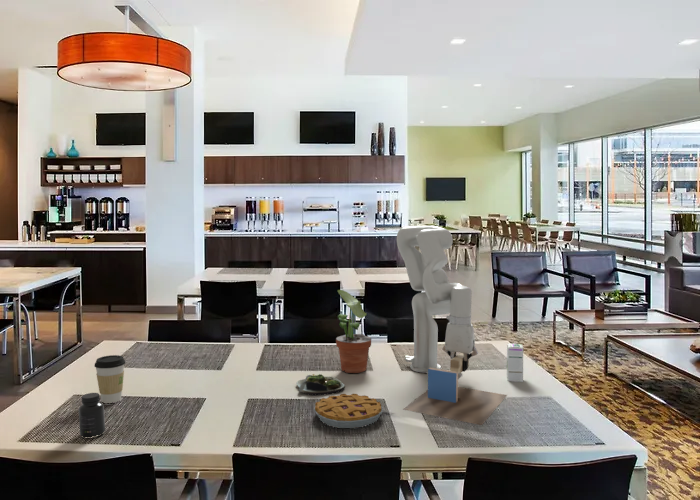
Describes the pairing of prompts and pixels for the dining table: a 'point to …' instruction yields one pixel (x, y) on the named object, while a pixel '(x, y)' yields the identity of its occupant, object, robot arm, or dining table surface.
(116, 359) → the coffee cup
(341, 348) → the potted plant
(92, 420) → the supplement bottle
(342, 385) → the salad plate
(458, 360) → the tan bar
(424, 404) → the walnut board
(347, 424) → the pie
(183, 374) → the dining table surface
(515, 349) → the syrup box
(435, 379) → the tile
